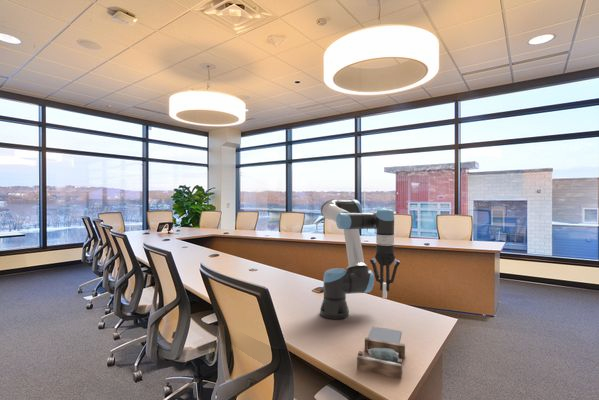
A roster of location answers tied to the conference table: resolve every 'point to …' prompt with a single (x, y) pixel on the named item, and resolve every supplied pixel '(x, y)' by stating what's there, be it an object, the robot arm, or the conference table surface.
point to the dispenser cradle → (381, 365)
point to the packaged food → (384, 354)
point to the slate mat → (385, 335)
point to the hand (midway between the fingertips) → (384, 297)
